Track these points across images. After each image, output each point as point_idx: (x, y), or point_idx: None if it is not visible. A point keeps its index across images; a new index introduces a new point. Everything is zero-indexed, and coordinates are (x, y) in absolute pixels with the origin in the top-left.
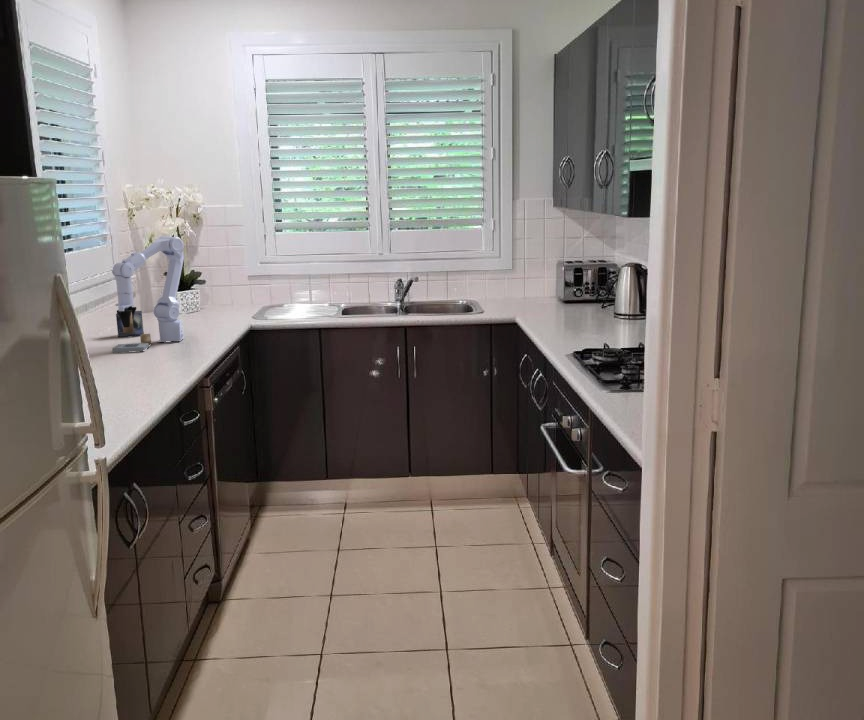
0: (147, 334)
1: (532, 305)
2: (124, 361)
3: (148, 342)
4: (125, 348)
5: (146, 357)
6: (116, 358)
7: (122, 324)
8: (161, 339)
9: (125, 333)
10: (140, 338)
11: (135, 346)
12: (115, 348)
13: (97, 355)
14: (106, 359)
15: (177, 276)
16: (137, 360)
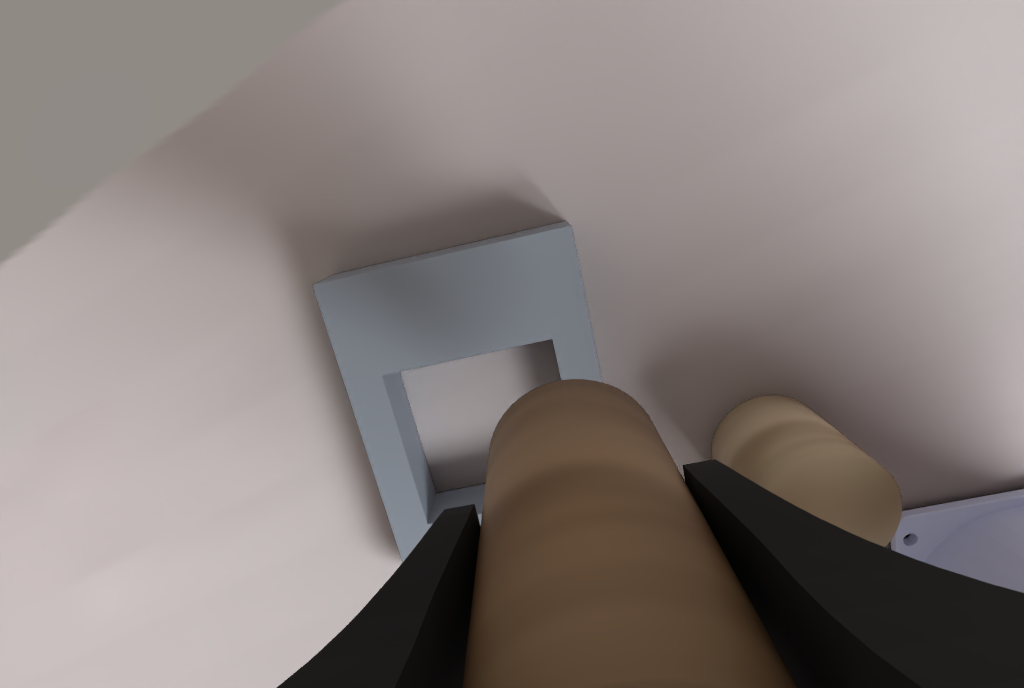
0: (862, 531)
1: None
2: (12, 577)
3: None
4: (361, 427)
5: (210, 684)
6: (102, 444)
7: (525, 469)
8: (949, 558)
9: None
10: (780, 442)
11: None
12: (324, 317)
13: (184, 142)
14: (32, 366)
15: None
16: (82, 663)
